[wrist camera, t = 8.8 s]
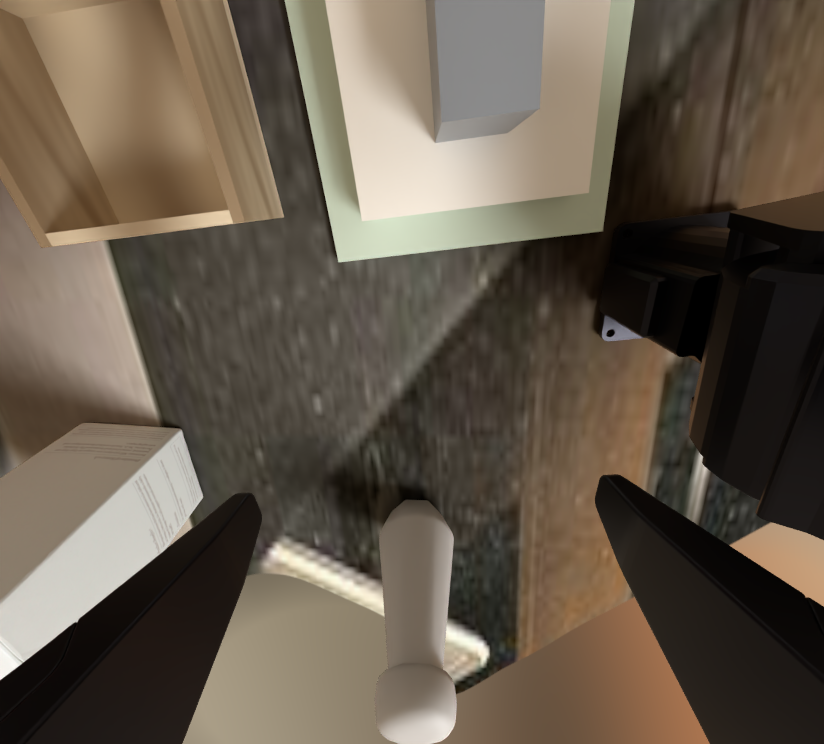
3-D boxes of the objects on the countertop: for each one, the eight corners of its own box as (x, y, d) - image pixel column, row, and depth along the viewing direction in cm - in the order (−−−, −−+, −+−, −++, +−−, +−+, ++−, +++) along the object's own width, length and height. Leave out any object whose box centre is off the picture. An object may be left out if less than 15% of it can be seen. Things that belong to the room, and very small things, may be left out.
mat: (657, -214, 11) (666, -231, 11) (597, 230, 18) (602, 231, 17) (259, -135, 12) (253, -148, 12) (340, 260, 18) (338, 262, 18)
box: (220, -26, 13) (136, -124, 9) (284, 217, 17) (244, 221, 13) (16, 10, 14) (-145, -68, 10) (124, 237, 18) (41, 247, 14)
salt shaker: (459, 499, 27) (492, 723, 15) (439, 543, 29) (454, 763, 18) (390, 485, 26) (369, 707, 15) (375, 531, 29) (347, 751, 17)
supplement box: (80, 419, 24) (-222, 614, 12) (185, 426, 24) (-21, 625, 13) (115, 493, 27) (-99, 699, 16) (206, 498, 27) (59, 707, 16)
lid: (599, -130, 12) (753, -406, 6) (569, 193, 16) (644, 189, 11) (320, -78, 12) (247, -290, 7) (367, 219, 17) (345, 227, 12)
